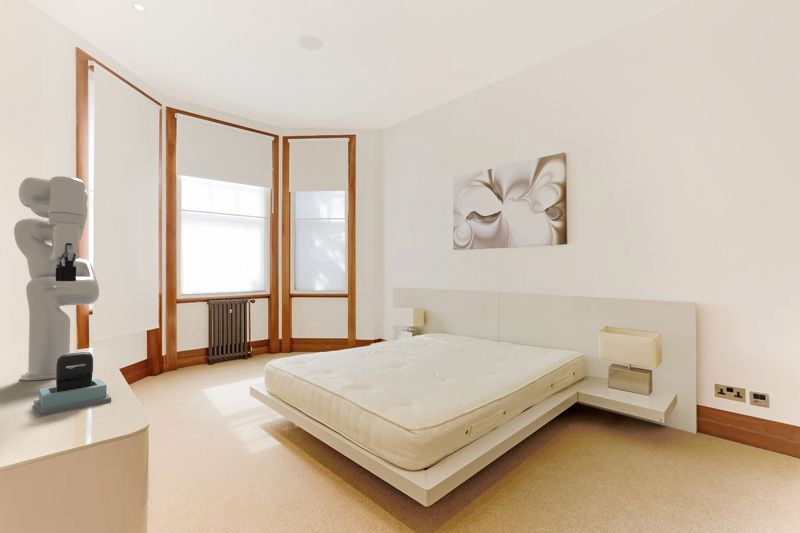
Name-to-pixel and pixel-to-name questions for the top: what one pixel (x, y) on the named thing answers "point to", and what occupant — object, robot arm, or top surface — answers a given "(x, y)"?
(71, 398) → the dock
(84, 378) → the battery charger
